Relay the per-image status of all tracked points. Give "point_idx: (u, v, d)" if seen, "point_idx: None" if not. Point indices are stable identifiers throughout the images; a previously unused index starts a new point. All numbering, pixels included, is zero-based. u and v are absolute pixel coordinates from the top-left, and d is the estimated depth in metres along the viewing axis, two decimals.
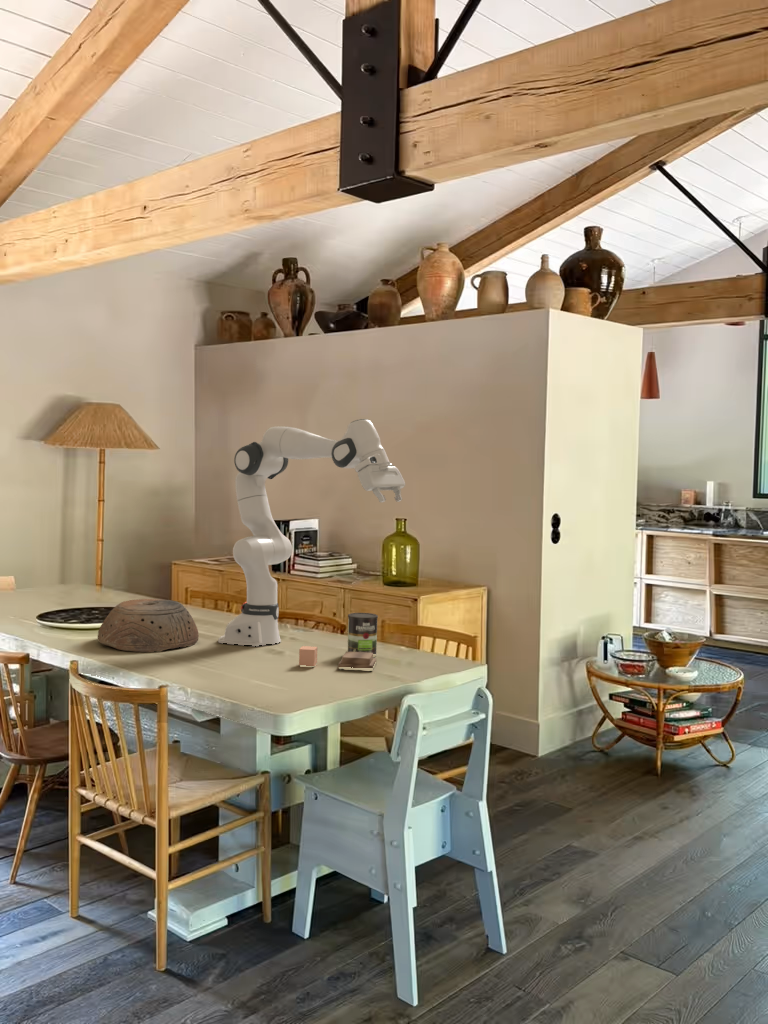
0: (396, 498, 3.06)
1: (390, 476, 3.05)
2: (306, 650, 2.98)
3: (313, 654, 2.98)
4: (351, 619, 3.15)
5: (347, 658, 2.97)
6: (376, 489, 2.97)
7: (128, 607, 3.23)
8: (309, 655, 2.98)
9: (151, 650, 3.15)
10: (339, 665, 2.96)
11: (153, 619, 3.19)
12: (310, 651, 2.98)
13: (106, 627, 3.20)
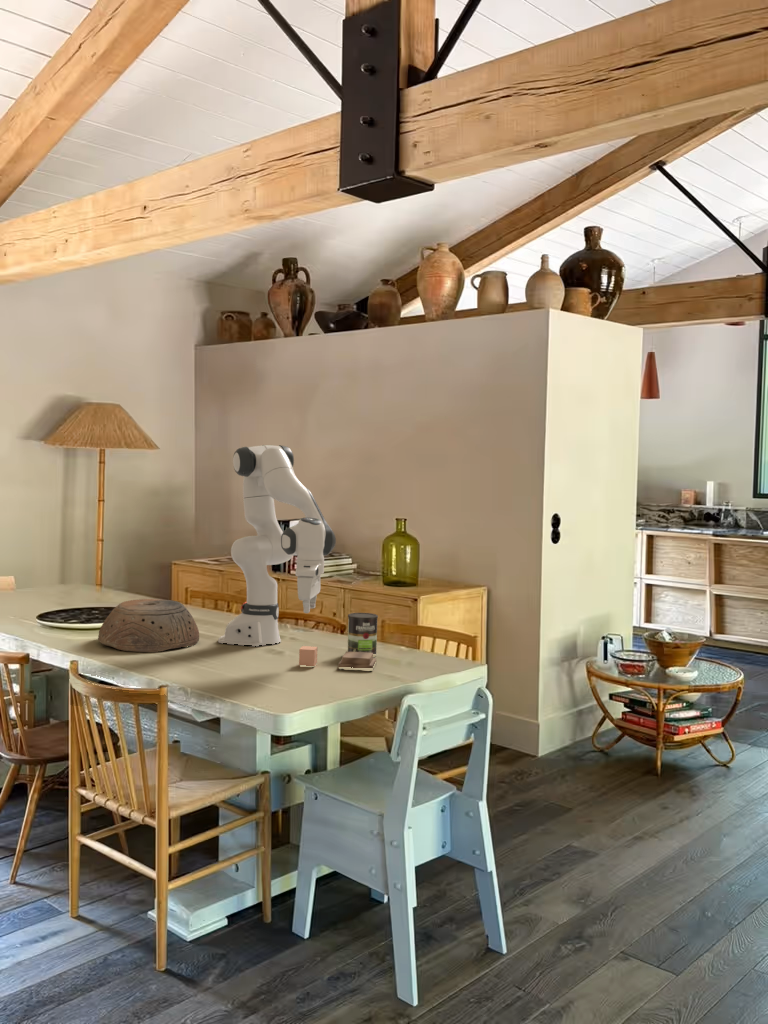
0: (311, 605, 3.04)
1: (316, 584, 3.02)
2: (306, 650, 2.98)
3: (313, 654, 2.98)
4: (351, 619, 3.15)
5: (347, 658, 2.97)
6: (307, 600, 2.93)
7: (129, 607, 3.23)
8: (309, 655, 2.98)
9: (152, 650, 3.15)
10: (339, 665, 2.96)
11: (154, 619, 3.18)
12: (310, 651, 2.98)
13: (107, 627, 3.20)
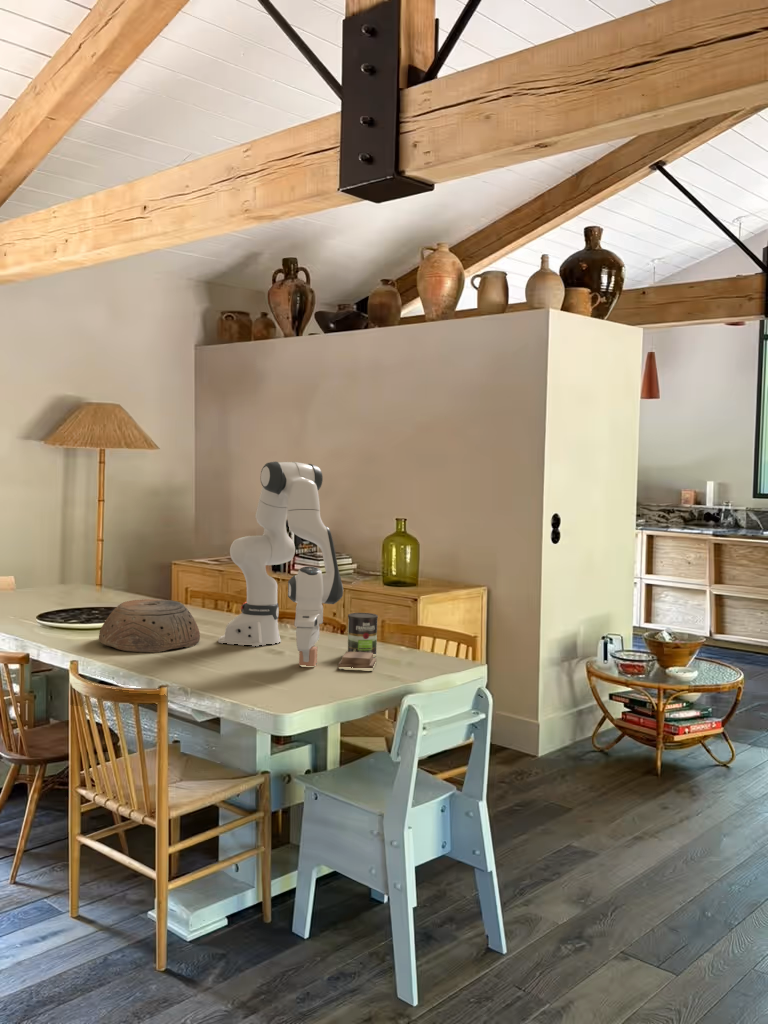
0: None
1: (315, 633, 3.03)
2: None
3: (313, 654, 2.98)
4: (351, 619, 3.15)
5: (347, 658, 2.97)
6: None
7: (129, 607, 3.22)
8: (309, 655, 2.98)
9: (152, 650, 3.14)
10: (339, 665, 2.96)
11: (155, 619, 3.18)
12: (310, 651, 2.98)
13: (107, 627, 3.20)
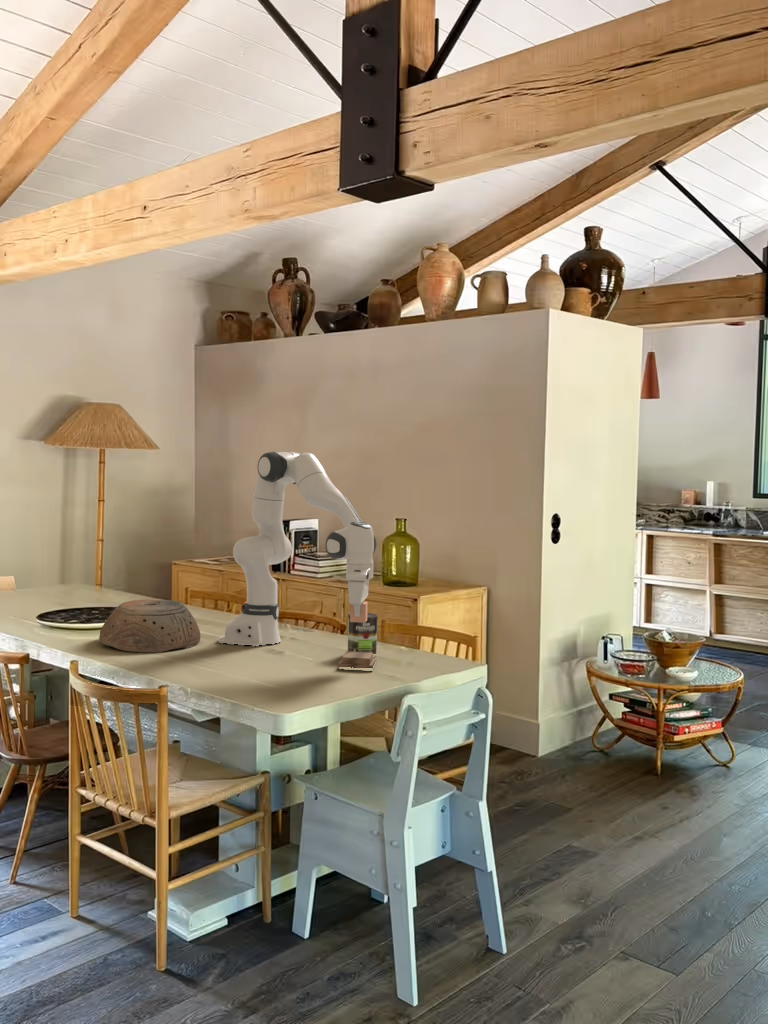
0: None
1: (365, 588, 3.02)
2: None
3: (364, 608, 2.97)
4: None
5: (347, 658, 2.97)
6: None
7: (130, 607, 3.22)
8: (360, 609, 2.97)
9: (153, 651, 3.14)
10: (339, 665, 2.96)
11: (155, 619, 3.18)
12: (361, 605, 2.97)
13: (108, 628, 3.20)
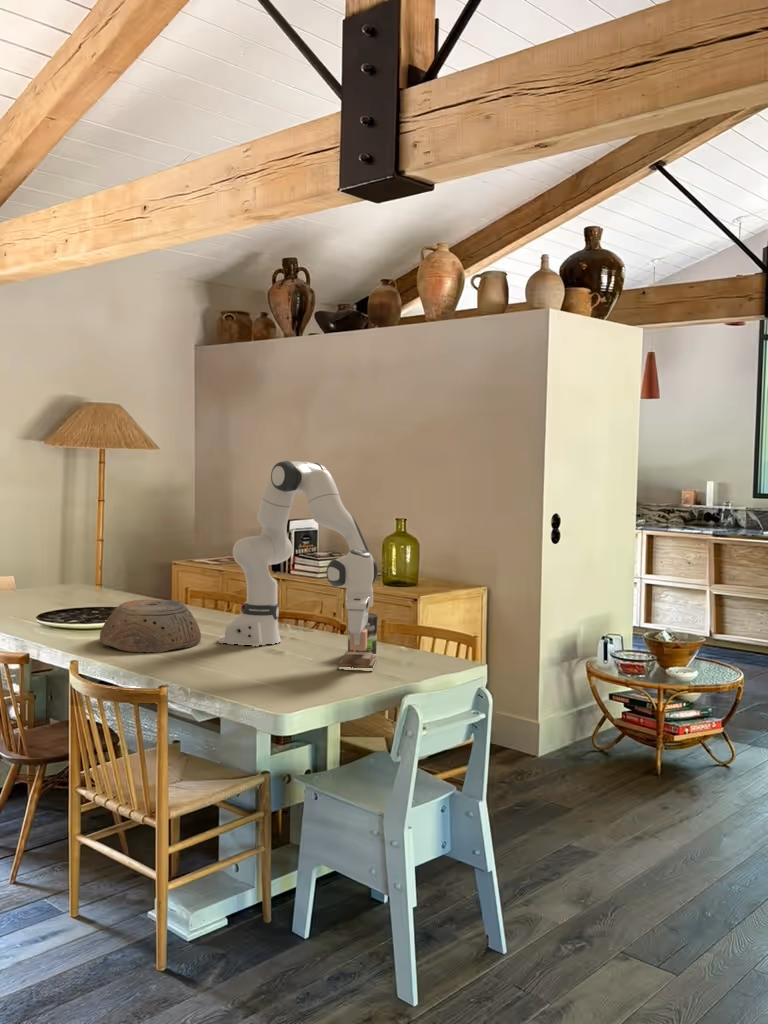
0: None
1: (365, 616, 3.03)
2: None
3: (364, 636, 2.98)
4: None
5: (347, 658, 2.97)
6: None
7: (130, 608, 3.22)
8: (360, 637, 2.98)
9: (153, 651, 3.14)
10: (339, 665, 2.96)
11: (156, 619, 3.18)
12: (361, 633, 2.98)
13: (108, 628, 3.19)
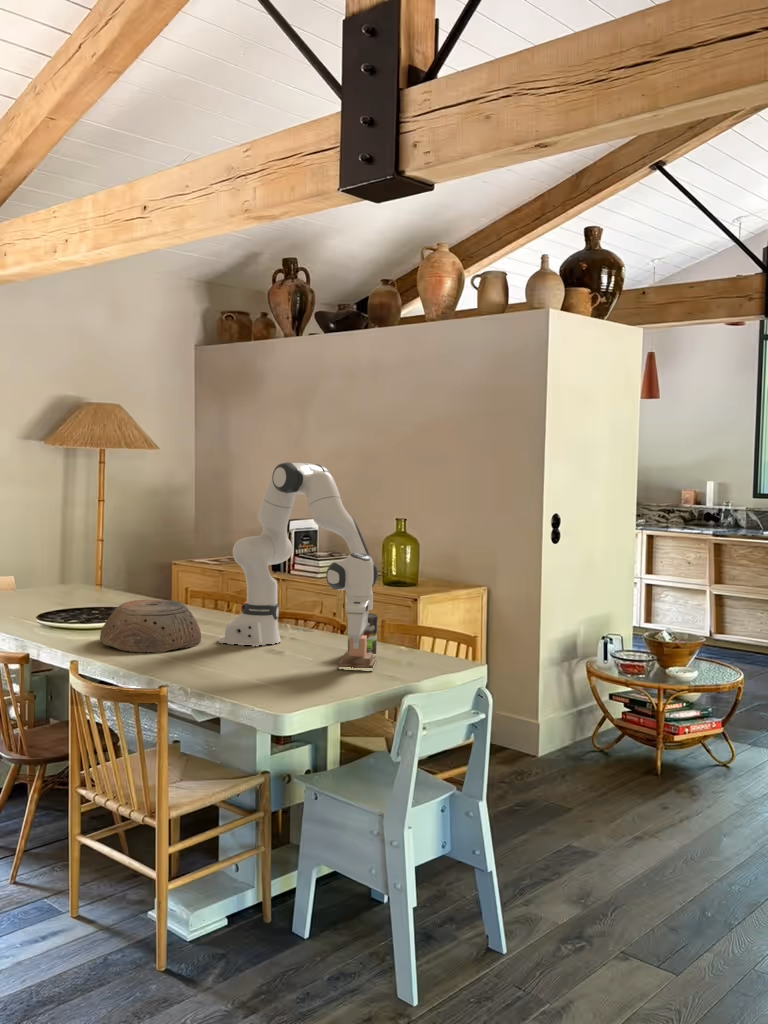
0: None
1: (365, 619, 3.03)
2: None
3: (363, 643, 2.98)
4: None
5: (347, 658, 2.97)
6: (357, 636, 2.95)
7: (131, 608, 3.22)
8: (359, 644, 2.98)
9: (154, 651, 3.14)
10: (339, 665, 2.96)
11: (156, 619, 3.18)
12: (360, 640, 2.98)
13: (108, 628, 3.19)
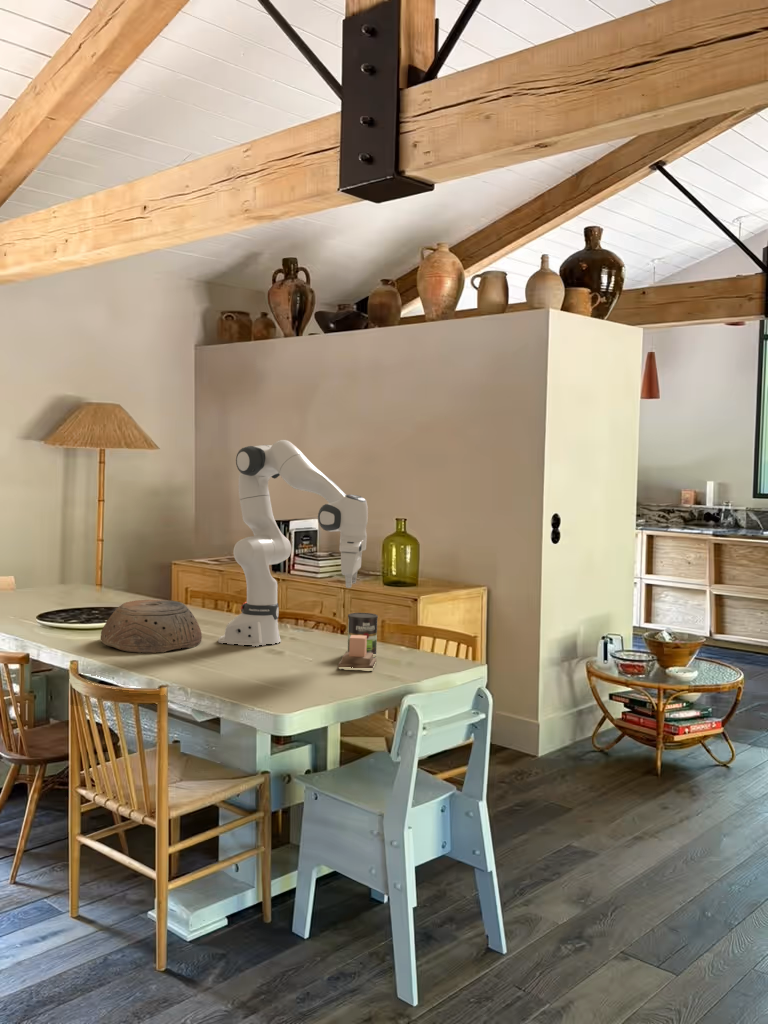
0: (352, 580, 3.11)
1: (358, 560, 3.09)
2: (356, 639, 2.98)
3: (363, 643, 2.98)
4: (351, 619, 3.15)
5: (347, 658, 2.97)
6: (350, 576, 3.00)
7: (131, 608, 3.21)
8: (359, 644, 2.98)
9: (155, 651, 3.13)
10: (339, 665, 2.96)
11: (157, 619, 3.17)
12: (360, 640, 2.98)
13: (109, 628, 3.19)
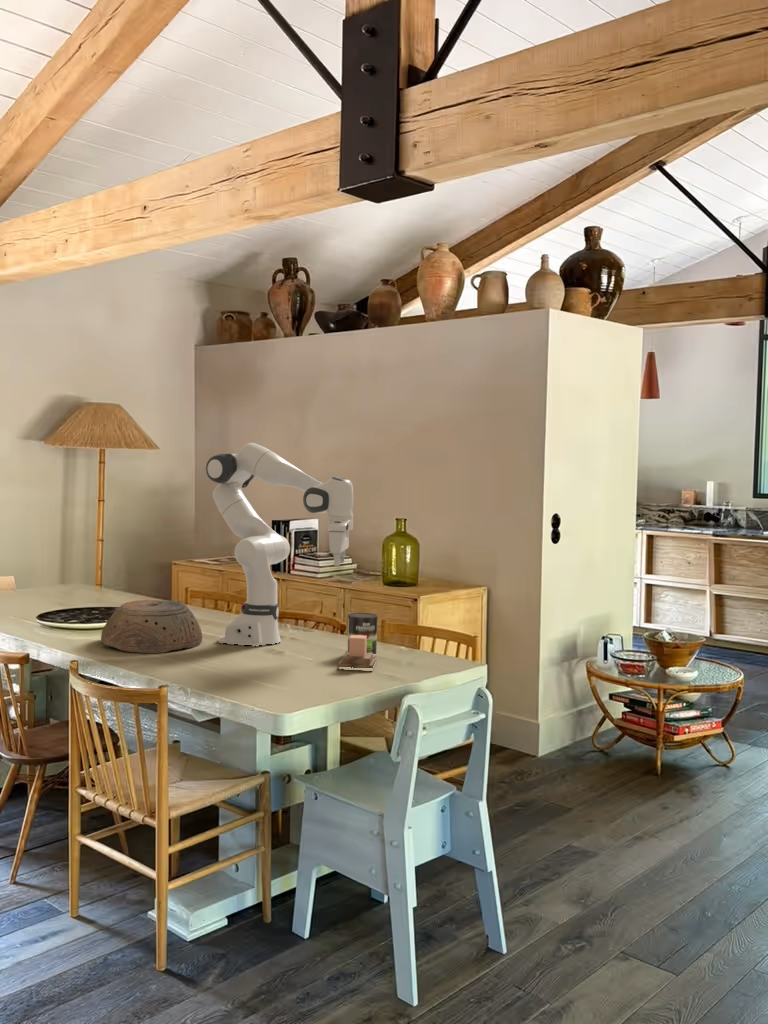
0: (340, 559, 3.24)
1: (346, 540, 3.22)
2: (356, 639, 2.98)
3: (363, 643, 2.98)
4: (351, 619, 3.15)
5: (347, 658, 2.97)
6: (338, 554, 3.13)
7: (132, 608, 3.21)
8: (359, 644, 2.98)
9: (155, 651, 3.13)
10: (339, 665, 2.96)
11: (157, 620, 3.17)
12: (360, 640, 2.98)
13: (110, 628, 3.19)
